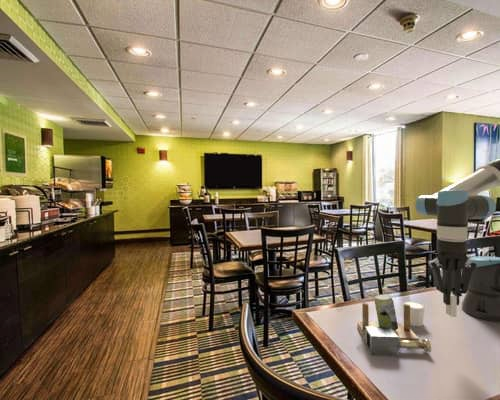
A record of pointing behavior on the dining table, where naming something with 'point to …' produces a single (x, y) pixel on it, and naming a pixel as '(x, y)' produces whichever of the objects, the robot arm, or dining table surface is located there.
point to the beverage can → (386, 311)
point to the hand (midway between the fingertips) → (451, 314)
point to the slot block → (381, 341)
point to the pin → (415, 344)
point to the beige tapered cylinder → (416, 313)
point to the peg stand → (403, 328)
